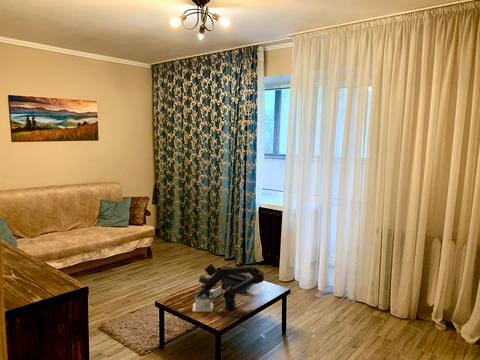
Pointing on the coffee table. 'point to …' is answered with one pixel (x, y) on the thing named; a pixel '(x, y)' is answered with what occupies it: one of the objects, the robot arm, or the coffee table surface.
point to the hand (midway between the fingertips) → (197, 295)
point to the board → (202, 309)
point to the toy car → (214, 292)
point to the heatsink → (202, 303)
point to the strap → (201, 296)
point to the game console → (235, 281)
